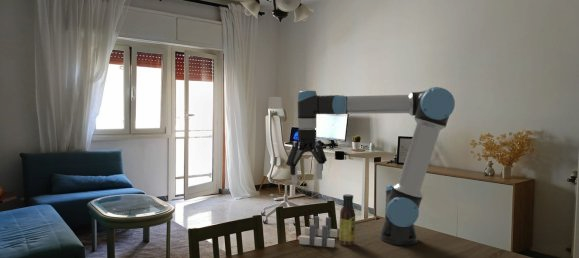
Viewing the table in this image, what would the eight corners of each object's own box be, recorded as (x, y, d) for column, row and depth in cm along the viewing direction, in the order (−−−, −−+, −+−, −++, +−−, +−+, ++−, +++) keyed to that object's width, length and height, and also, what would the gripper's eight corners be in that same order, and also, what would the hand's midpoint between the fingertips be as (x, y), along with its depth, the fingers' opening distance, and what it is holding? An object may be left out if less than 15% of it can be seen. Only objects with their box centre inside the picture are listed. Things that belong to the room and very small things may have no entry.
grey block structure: (337, 236, 169) (337, 218, 168) (334, 247, 156) (334, 227, 155) (305, 233, 172) (305, 215, 171) (299, 244, 158) (299, 224, 158)
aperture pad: (317, 236, 168) (317, 235, 168) (315, 243, 160) (315, 241, 160) (299, 235, 169) (299, 233, 169) (295, 241, 162) (295, 239, 161)
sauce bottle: (354, 247, 156) (355, 197, 155) (338, 245, 158) (339, 196, 157) (354, 241, 163) (356, 194, 162) (339, 240, 164) (341, 193, 163)
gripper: (322, 127, 171) (322, 176, 172) (277, 129, 155) (277, 183, 156) (335, 128, 165) (335, 178, 166) (289, 130, 149) (289, 186, 150)
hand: (307, 181), depth 161 cm, fingers open, 13 cm apart
